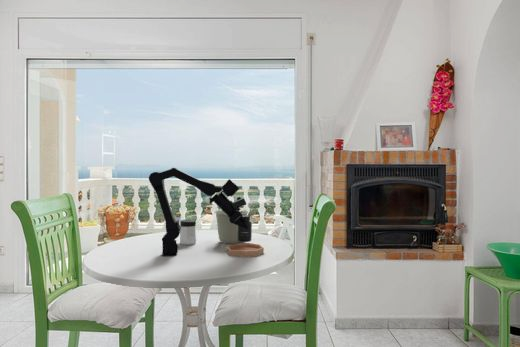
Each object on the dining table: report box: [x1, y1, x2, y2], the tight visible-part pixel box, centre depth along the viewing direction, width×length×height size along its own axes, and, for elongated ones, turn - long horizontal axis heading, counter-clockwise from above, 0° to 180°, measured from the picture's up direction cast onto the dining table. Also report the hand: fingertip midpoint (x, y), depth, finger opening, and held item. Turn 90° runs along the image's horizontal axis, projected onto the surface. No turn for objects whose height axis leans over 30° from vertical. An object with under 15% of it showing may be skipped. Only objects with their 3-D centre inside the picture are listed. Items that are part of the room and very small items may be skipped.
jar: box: [179, 219, 197, 246], centre depth 194 cm, size 9×8×12 cm
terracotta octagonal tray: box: [225, 242, 264, 258], centre depth 175 cm, size 17×17×2 cm
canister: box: [214, 207, 249, 245], centre depth 197 cm, size 18×18×21 cm
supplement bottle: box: [237, 214, 253, 243], centre depth 174 cm, size 7×7×12 cm
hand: (247, 226), depth 174 cm, fingers closed on supplement bottle, 7 cm apart
